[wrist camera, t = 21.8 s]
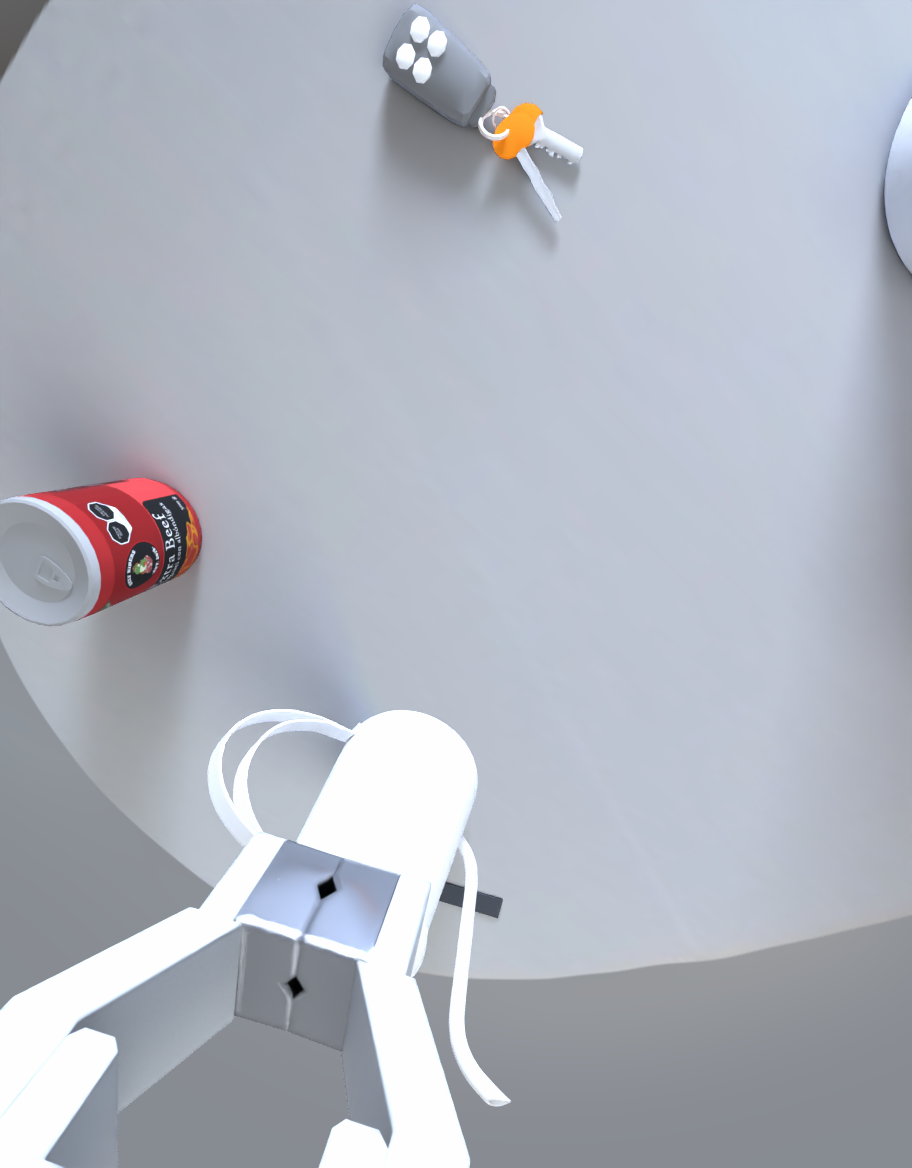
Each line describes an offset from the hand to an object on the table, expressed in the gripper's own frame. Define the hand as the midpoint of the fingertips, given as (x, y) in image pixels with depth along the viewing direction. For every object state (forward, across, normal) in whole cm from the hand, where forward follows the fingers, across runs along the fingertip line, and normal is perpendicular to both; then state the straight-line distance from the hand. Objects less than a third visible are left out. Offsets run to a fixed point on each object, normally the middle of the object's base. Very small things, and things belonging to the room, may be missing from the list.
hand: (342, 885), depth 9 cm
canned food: (+31, +26, +6) cm, 41 cm away
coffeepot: (+31, +3, +21) cm, 38 cm away
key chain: (+31, +6, -22) cm, 39 cm away
